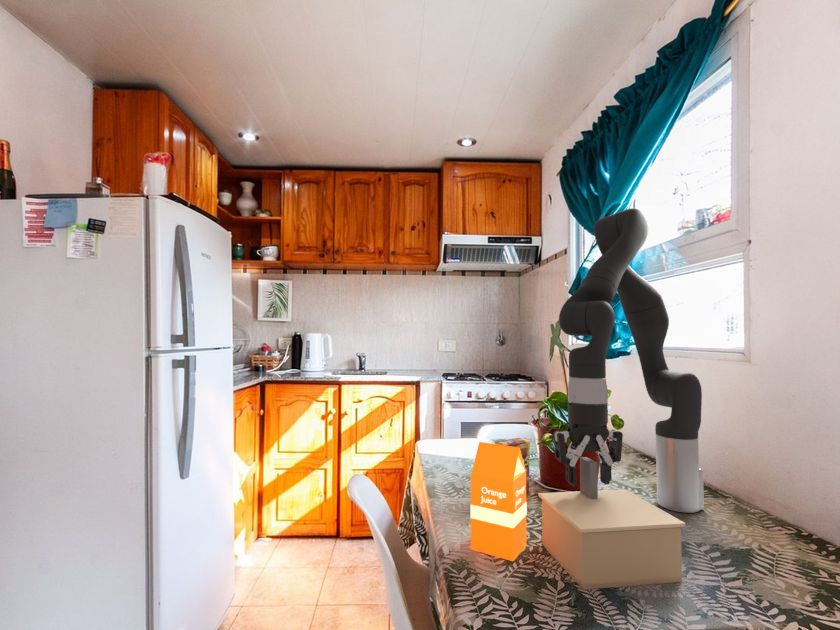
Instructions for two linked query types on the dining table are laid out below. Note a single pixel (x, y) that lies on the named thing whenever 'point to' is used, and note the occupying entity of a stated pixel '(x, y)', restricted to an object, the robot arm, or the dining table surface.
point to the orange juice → (498, 501)
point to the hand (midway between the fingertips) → (588, 483)
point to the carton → (613, 553)
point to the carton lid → (606, 506)
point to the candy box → (525, 453)
